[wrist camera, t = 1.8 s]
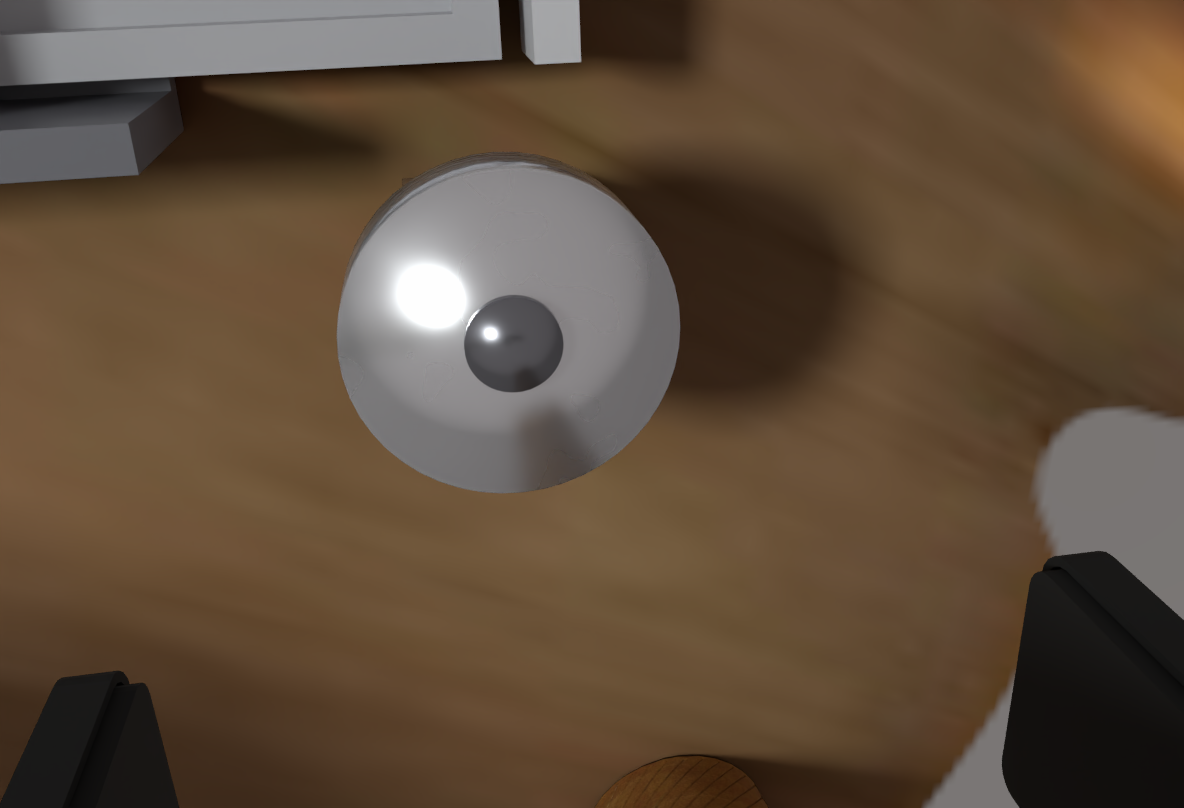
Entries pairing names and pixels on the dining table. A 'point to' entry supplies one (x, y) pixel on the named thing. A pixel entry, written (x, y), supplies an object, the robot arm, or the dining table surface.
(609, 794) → the disposable coffee cup
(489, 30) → the tray
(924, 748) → the dining table surface
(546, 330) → the silver disc
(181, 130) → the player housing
